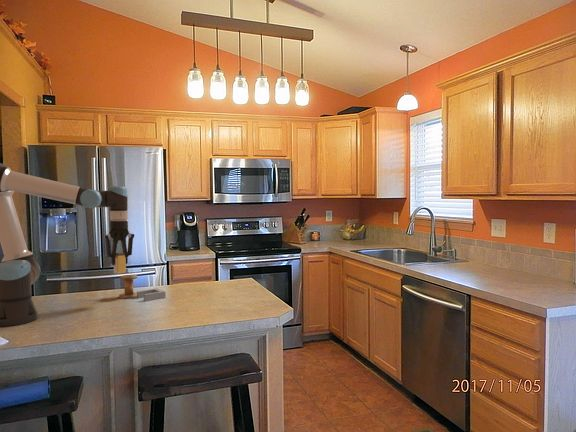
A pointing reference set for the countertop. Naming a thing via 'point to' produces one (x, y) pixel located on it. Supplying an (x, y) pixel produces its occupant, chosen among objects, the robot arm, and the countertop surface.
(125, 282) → the bobbin
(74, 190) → the robot arm
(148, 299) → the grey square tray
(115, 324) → the countertop surface
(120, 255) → the yellow upright block
